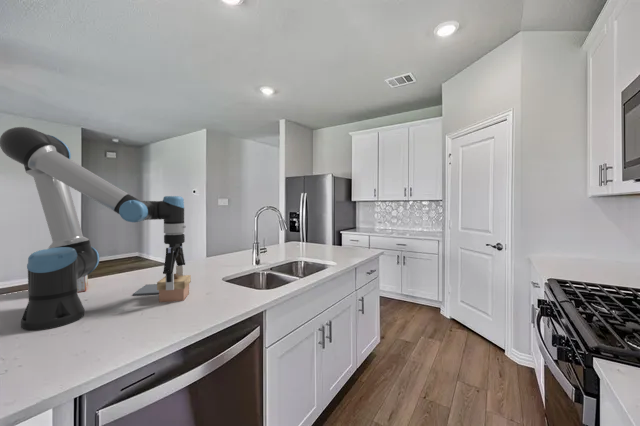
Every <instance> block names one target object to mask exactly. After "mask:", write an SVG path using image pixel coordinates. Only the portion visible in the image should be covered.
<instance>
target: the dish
mask: <svg viewBox="0 0 640 426" xmlns="http://www.w3.org/2000/svg"><path fill="white" fill-rule="evenodd" d="M189 295H190V283H189V284H188V286H187V287H186V288H185V289H174V290H159V294H158V303H169V302H170V303H171V302H183V301H185V300H186V298H187V297H188V296H189Z"/></svg>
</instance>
